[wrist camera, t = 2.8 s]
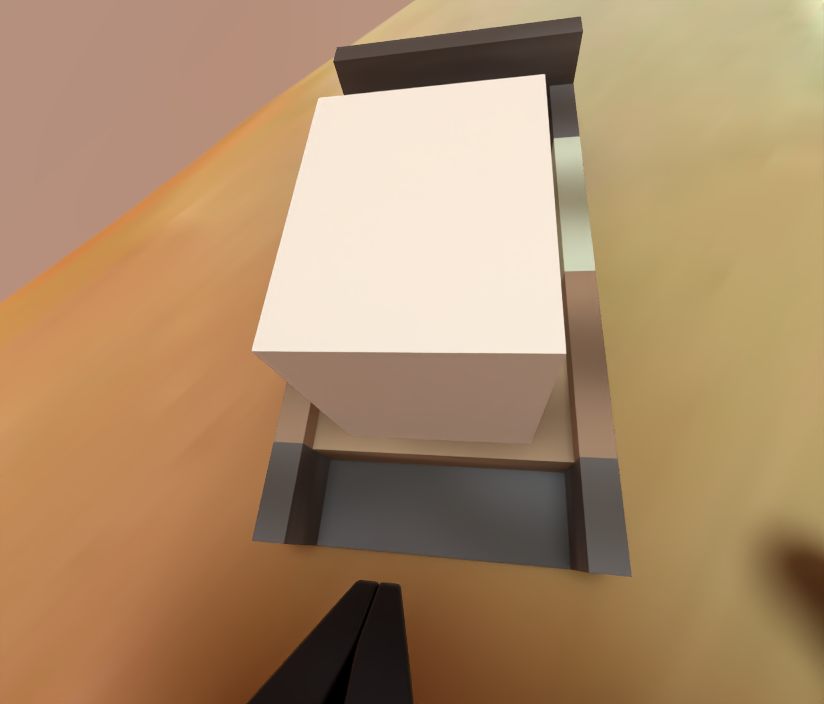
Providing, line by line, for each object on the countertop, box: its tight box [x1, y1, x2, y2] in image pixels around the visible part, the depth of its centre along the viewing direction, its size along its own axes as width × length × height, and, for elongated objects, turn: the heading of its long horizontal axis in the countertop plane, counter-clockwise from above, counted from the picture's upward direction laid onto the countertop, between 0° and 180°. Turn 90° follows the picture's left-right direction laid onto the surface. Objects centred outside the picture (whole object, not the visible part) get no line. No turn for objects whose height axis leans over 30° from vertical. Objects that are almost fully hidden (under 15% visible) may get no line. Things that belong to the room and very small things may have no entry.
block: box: [252, 74, 566, 444], centre depth 15 cm, size 9×7×8 cm
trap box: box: [252, 17, 632, 577], centre depth 19 cm, size 24×12×6 cm, turn 176°
